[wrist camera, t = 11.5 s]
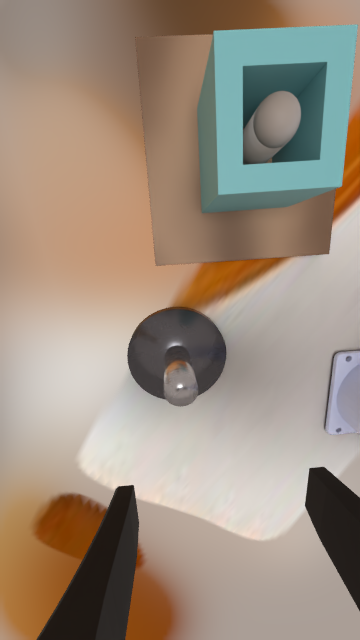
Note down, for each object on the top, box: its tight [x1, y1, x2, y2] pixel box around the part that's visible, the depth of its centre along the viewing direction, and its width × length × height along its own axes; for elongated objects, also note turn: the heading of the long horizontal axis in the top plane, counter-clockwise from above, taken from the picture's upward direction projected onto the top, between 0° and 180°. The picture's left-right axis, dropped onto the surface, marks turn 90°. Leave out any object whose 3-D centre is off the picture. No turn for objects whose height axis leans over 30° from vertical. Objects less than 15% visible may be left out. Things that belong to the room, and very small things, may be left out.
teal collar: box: [197, 25, 358, 213], centre depth 12 cm, size 6×6×5 cm
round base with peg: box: [127, 307, 226, 406], centre depth 16 cm, size 8×8×6 cm
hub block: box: [135, 34, 336, 266], centre depth 13 cm, size 12×12×6 cm
